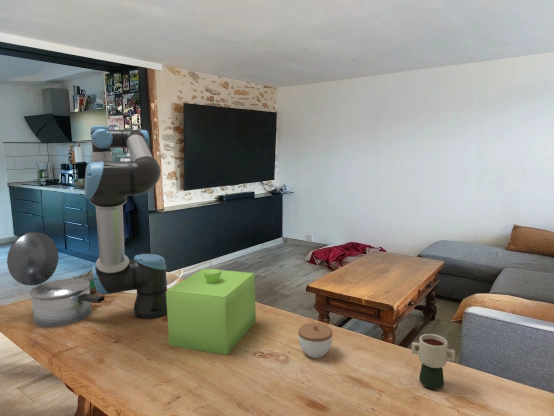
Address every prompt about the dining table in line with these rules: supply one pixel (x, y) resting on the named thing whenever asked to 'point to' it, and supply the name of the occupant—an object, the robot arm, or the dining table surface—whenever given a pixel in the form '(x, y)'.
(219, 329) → the canister
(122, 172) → the robot arm
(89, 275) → the food container
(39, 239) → the cooker lid
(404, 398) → the dining table surface
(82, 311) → the cooker pot
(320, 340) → the lidded jar
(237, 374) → the dining table surface
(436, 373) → the character mug
